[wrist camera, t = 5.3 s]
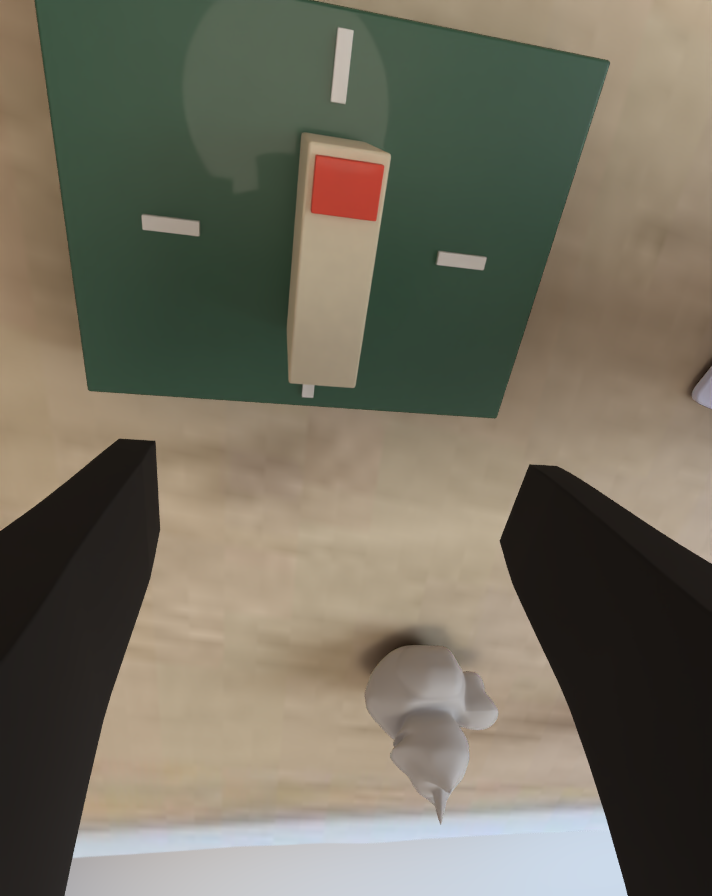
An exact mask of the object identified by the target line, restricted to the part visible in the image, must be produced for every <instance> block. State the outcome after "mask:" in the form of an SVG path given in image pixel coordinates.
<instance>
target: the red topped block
mask: <svg viewBox="0 0 712 896" xmlns="http://www.w3.org/2000/svg"><path fill="white" fill-rule="evenodd" d="M390 161H391V155H390V154H389V153H387V152H385V151H383V150H381V149H379V148H377V147H374V146H372V145H370V144H368V143H366V142H362V141H356V140H350V139H344V138H337V137H331V136H325V135H318V134H312V133H306V132H304V133H302V135H301V145H300V159H299V172H298V185H297V198H296V212H295V225H294V238H293V251H292V264H291V278H290V291H289V304H288V317H287V352H288V380H289V383H292V384H306V385H319V386H332V387H346V388H354V387H355V386H356V379H357V373H358V366H359V360H360V354H361V347H362V341H363V334H364V328H365V321H366V315H367V309H368V302H369V296H370V289H371V283H372V276H373V270H374V263H375V257H376V251H377V244H378V238H379V231H380V225H381V218H382V212H383V206H384V199H385V193H386V186H387V180H388V173H389V167H390Z"/></svg>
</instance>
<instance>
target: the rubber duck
mask: <svg viewBox="0 0 712 896" xmlns="http://www.w3.org/2000/svg"><path fill="white" fill-rule="evenodd" d="M365 702H366V707H367V710H368V712H369V713H370V715H371V716H372V718H373V719H374V720H375V721H376V722H377V723H378V724H379V726H380V727H381V728H382V729H383V730H384V731H385V732H386V733H387V734H388V735H389V736H390V737H391V738H392V739H394V742H393V745H394V748H393V750H392V751H391V753H390V757H391V759H392V761H393V762H394V764H395V765H396V766H397V767H398V768H399V769H400V770H402V771H403V772H404V773H405V774H406V775H407V776H408V777H409V779H410V781H411V782H412V784H413V786H414V788H415V789H416V790H417V792H418V793H419V794H420V795H422V796H423V797H425V798H426V799H428V800H429V801H430V802H431V803H432V804H433V805H435V808H436V812H437V815H438V819H439V821H440V824H441V823H442V819H443V815H444V811H445V806H446V801H447V799H448V797H449V796H450V794H451V793H452V791H453V790H454V789H455V787H456V786H457V785H458V784H459V783H460V781H461V780H462V779H463V777H464V774H465V771H466V768H467V765H468V762H469V744H468V741H467V738H466V736H465V735H464V733H463V731H462V730H461V728H460V727H464V728H467V729H472V730H482V729H486V728H489V727H490V726H492V725H493V724H494V723H495V721H496V720H497V717H498V709H497V707H496V705H495V704H494V702H493V701H492V700H491V699H490V697H489V696H488V695H487V694H486V692H485V690H484V684H483V680H482V678H481V676H480V675H479V674H477V673H475V672H469V671H466V672H462V669H461V667H460V666H459V664H458V662H457V660H456V658H455V656H454V655H453V653H452V652H451V651H450V650H449V649H448V648H446V647H442V646H428V645H409V646H403V647H400V648H397V649H395V650H393V651H391V652H390V653H389V654H387V655H386V656H385V657H384V658H383V659H382V660H381V661H380V662H379V664H378V665H377V666H376V667H375V669H374V670H373V671H372V673H371V675H370V678H369V681H368V683H367V686H366V690H365Z"/></svg>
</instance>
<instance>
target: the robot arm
mask: <svg viewBox="0 0 712 896" xmlns="http://www.w3.org/2000/svg"><path fill="white" fill-rule="evenodd" d="M692 398H693V400H695V401H696V402H697V403H699V404H700V405H703V406H705V407H707V408H710V409H712V366H711V367H710V369H709V370H708V371H707V372H706V374H705V375H704V376H703V377H702V379H701V380H700V381H699V382H698V384H697V385H696V386H695V388H694V389H693V391H692ZM159 532H160V519H159V500H158V481H157V462H156V443H155V441H147V440H131V439H118V440H117V441H116V442H114V443H113V444H112V445H111V446H109V447H108V448H107V449H106V450H104V451H103V452H102V453H101V454H99V455H98V456H97V457H96V458H95V459H93V460H92V461H91V462H90V463H89V464H87V465H86V466H85V467H84V468H83V469H81V470H80V471H79V472H78V473H76V474H75V475H74V476H73V477H72V478H70V479H69V480H68V481H67V482H65V483H64V484H63V485H62V486H60V487H59V488H58V489H57V490H55V491H54V492H53V493H51V494H50V495H49V496H48V497H46V498H45V499H44V500H43V501H41V502H40V503H39V504H37V505H36V506H35V507H33V508H32V509H31V510H29V511H28V512H26V513H25V514H24V515H22V516H21V517H19V518H18V519H17V520H15V521H14V522H12V523H11V524H10V525H8V526H7V527H5V528H4V529H3V530H1V531H0V896H64V895H65V891H66V886H67V881H68V876H69V871H70V866H71V862H72V857H73V852H74V847H75V843H76V838H77V834H78V829H79V825H80V820H81V816H82V811H83V807H84V802H85V798H86V793H87V788H88V784H89V780H90V775H91V771H92V767H93V763H94V758H95V754H96V750H97V745H98V741H99V737H100V733H101V728H102V724H103V720H104V717H105V713H106V710H107V707H108V703H109V700H110V696H111V693H112V690H113V687H114V684H115V681H116V678H117V675H118V672H119V669H120V667H121V664H122V661H123V658H124V655H125V652H126V649H127V646H128V643H129V640H130V637H131V634H132V631H133V628H134V625H135V622H136V620H137V617H138V614H139V611H140V608H141V605H142V602H143V599H144V596H145V593H146V590H147V587H148V583H149V580H150V577H151V572H152V567H153V563H154V558H155V553H156V548H157V542H158V537H159ZM500 543H501V547H502V550H503V554H504V558H505V561H506V565H507V568H508V571H509V574H510V577H511V580H512V583H513V586H514V588H515V590H516V593H517V595H518V597H519V599H520V602H521V604H522V606H523V608H524V610H525V612H526V615H527V617H528V619H529V621H530V623H531V625H532V627H533V630H534V632H535V634H536V636H537V638H538V640H539V642H540V644H541V646H542V649H543V651H544V653H545V655H546V657H547V659H548V661H549V663H550V666H551V668H552V670H553V672H554V674H555V676H556V678H557V680H558V683H559V685H560V687H561V689H562V692H563V694H564V696H565V699H566V701H567V704H568V706H569V708H570V711H571V714H572V717H573V720H574V722H575V725H576V728H577V731H578V734H579V737H580V739H581V742H582V745H583V748H584V751H585V754H586V756H587V759H588V762H589V765H590V769H591V772H592V775H593V778H594V781H595V784H596V787H597V791H598V794H599V797H600V800H601V803H602V806H603V809H604V812H605V816H606V819H607V823H608V826H609V830H610V833H611V837H612V840H613V844H614V847H615V851H616V854H617V858H618V862H619V865H620V869H621V872H622V875H623V879H624V882H625V886H626V890H627V895H628V896H712V564H711V563H709V562H708V561H706V560H704V559H703V558H701V557H699V556H698V555H696V554H695V553H693V552H691V551H690V550H688V549H686V548H685V547H683V546H681V545H680V544H678V543H677V542H675V541H674V540H672V539H670V538H669V537H667V536H666V535H664V534H663V533H661V532H659V531H658V530H656V529H655V528H653V527H652V526H650V525H649V524H647V523H646V522H644V521H643V520H641V519H640V518H638V517H637V516H635V515H634V514H632V513H631V512H629V511H628V510H626V509H625V508H623V507H622V506H620V505H619V504H617V503H616V502H614V501H613V500H611V499H610V498H608V497H607V496H605V495H604V494H602V493H601V492H599V491H598V490H596V489H595V488H593V487H592V486H590V485H589V484H587V483H585V482H584V481H582V480H581V479H579V478H577V477H576V476H574V475H572V474H571V473H569V472H567V471H565V470H564V469H562V468H560V467H558V466H546V465H530V464H529V467H528V470H527V472H526V475H525V477H524V480H523V482H522V485H521V488H520V490H519V493H518V495H517V498H516V500H515V503H514V505H513V508H512V511H511V513H510V516H509V518H508V521H507V523H506V526H505V529H504V531H503V534H502V536H501V539H500Z"/></svg>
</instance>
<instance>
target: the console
mask: <svg viewBox="0 0 712 896" xmlns="http://www.w3.org/2000/svg"><path fill="white" fill-rule="evenodd" d="M35 7H36V15H37V22H38V29H39V37H40V44H41V51H42V58H43V66H44V73H45V80H46V88H47V95H48V102H49V109H50V117H51V124H52V131H53V139H54V146H55V153H56V160H57V168H58V175H59V182H60V190H61V197H62V204H63V211H64V219H65V226H66V233H67V241H68V248H69V255H70V262H71V270H72V277H73V284H74V291H75V299H76V306H77V313H78V321H79V328H80V335H81V342H82V350H83V357H84V364H85V372H86V379H87V386H88V390H89V391H97V392H111V393H126V394H141V395H156V396H171V397H186V398H200V399H215V400H230V401H245V402H260V403H274V404H289V405H304V406H319V407H334V408H348V409H363V410H378V411H393V412H408V413H422V414H437V415H452V416H467V417H482V418H497V415H498V412H499V409H500V406H501V403H502V399H503V396H504V393H505V390H506V387H507V384H508V381H509V378H510V374H511V371H512V368H513V365H514V362H515V359H516V356H517V353H518V349H519V346H520V343H521V340H522V337H523V334H524V331H525V328H526V324H527V321H528V318H529V315H530V312H531V309H532V306H533V303H534V299H535V296H536V293H537V290H538V287H539V284H540V281H541V278H542V274H543V271H544V268H545V265H546V262H547V259H548V256H549V253H550V249H551V246H552V243H553V240H554V237H555V234H556V231H557V228H558V224H559V221H560V218H561V215H562V212H563V209H564V206H565V203H566V199H567V196H568V193H569V190H570V187H571V184H572V181H573V178H574V174H575V171H576V168H577V165H578V162H579V159H580V156H581V153H582V149H583V146H584V143H585V140H586V137H587V134H588V131H589V128H590V124H591V121H592V118H593V115H594V112H595V109H596V106H597V103H598V99H599V96H600V93H601V90H602V87H603V84H604V81H605V78H606V74H607V71H608V68H609V65H610V62H609V61H608V60H605V59H600V58H595V57H590V56H585V55H580V54H575V53H570V52H565V51H560V50H555V49H550V48H545V47H541V46H536V45H531V44H526V43H521V42H516V41H511V40H506V39H501V38H496V37H491V36H486V35H481V34H476V33H472V32H467V31H462V30H457V29H452V28H447V27H442V26H437V25H432V24H427V23H422V22H417V21H412V20H407V19H403V18H398V17H393V16H388V15H383V14H378V13H373V12H368V11H363V10H358V9H353V8H348V7H343V6H338V5H334V4H329V3H324V2H319V1H314V0H35ZM304 132H306V133H312V134H318V135H325V136H331V137H337V138H344V139H350V140H356V141H362V142H366V143H368V144H370V145H372V146H374V147H377V148H379V149H381V150H383V151H385V152H387V153H389V154H390V155H391V161H390V167H389V173H388V180H387V186H386V193H385V199H384V206H383V212H382V218H381V225H380V231H379V238H378V244H377V251H376V257H375V263H374V270H373V276H372V283H371V289H370V296H369V302H368V309H367V315H366V321H365V328H364V334H363V341H362V347H361V354H360V360H359V366H358V373H357V379H356V386H355V387H354V388H346V387H332V386H319V385H306V384H292V383H289V380H288V352H287V317H288V304H289V291H290V278H291V264H292V251H293V238H294V225H295V212H296V198H297V185H298V172H299V159H300V145H301V135H302V133H304Z"/></svg>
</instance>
